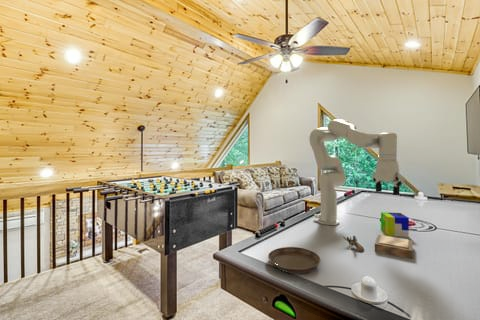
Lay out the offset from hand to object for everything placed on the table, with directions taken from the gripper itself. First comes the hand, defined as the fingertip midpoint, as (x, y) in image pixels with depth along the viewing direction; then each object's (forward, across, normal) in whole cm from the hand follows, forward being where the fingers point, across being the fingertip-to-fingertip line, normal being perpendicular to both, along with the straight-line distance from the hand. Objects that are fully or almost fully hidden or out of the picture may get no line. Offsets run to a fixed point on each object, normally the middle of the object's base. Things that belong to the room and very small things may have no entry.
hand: (387, 193), depth 121 cm
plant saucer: (+25, +4, -55) cm, 60 cm away
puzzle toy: (+25, -9, +16) cm, 30 cm away
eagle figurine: (+25, +1, -21) cm, 32 cm away
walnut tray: (+24, +8, -5) cm, 26 cm away
